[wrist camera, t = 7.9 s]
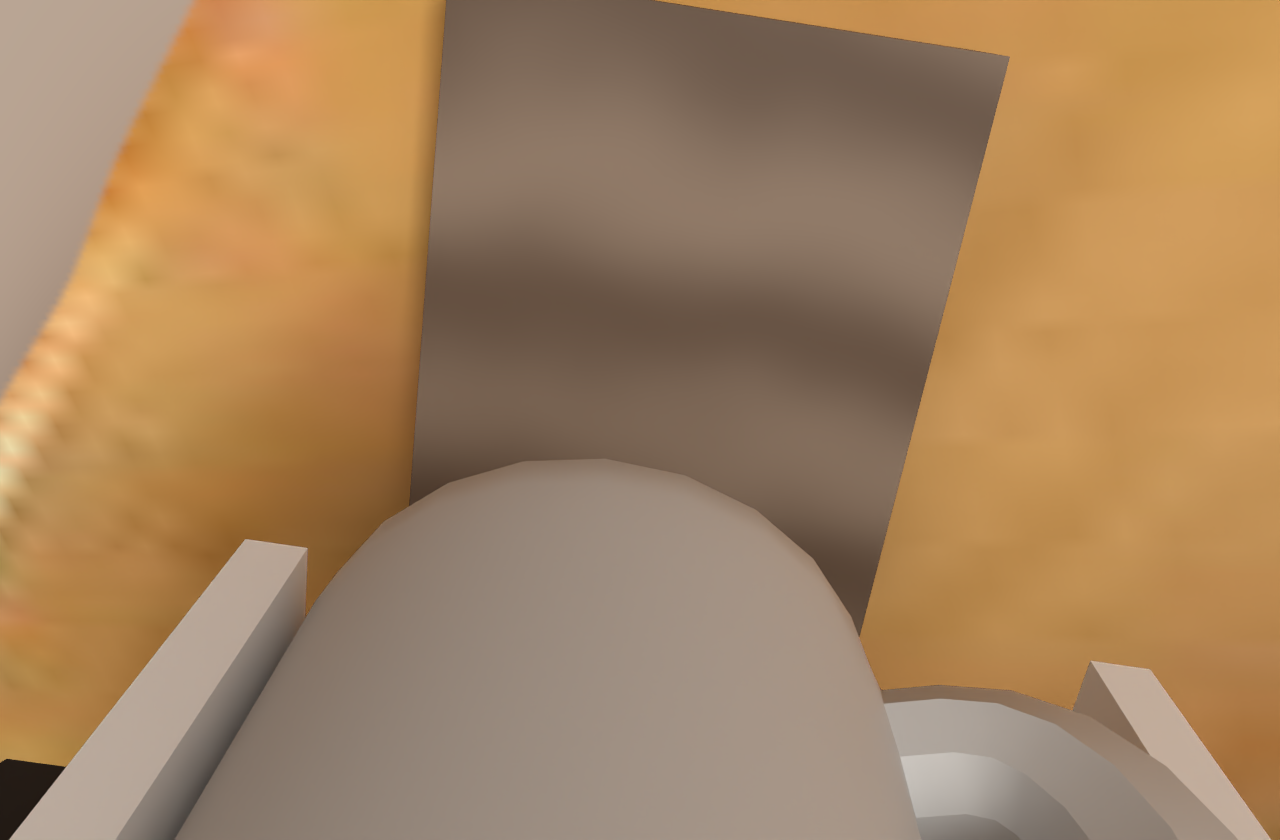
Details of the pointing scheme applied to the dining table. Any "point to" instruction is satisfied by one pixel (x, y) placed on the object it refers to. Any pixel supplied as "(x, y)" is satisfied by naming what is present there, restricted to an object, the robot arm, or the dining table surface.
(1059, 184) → the dining table surface
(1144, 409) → the dining table surface
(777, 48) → the board
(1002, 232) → the dining table surface
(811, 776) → the cup
